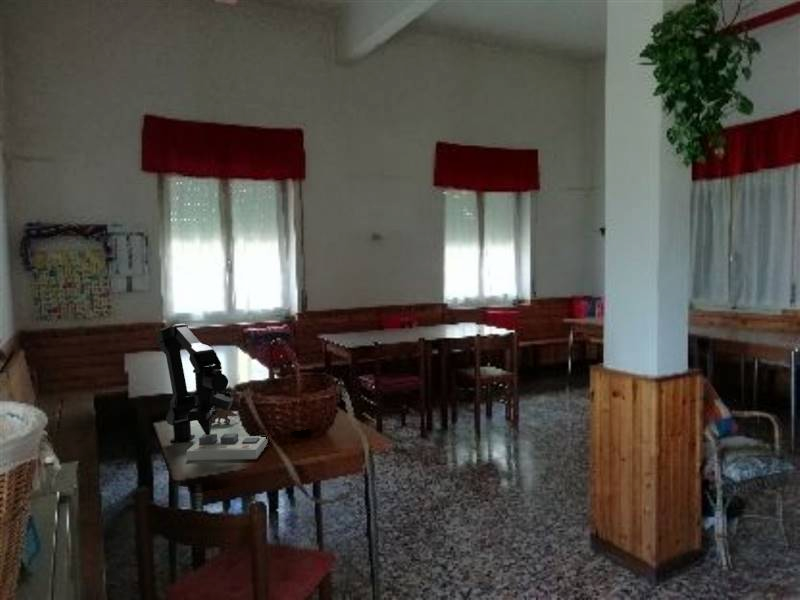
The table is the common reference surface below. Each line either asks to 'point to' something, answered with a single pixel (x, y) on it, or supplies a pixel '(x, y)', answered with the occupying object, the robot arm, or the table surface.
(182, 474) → the table surface
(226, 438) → the middle button
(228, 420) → the dinosaur figurine
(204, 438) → the button
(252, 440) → the button
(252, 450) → the button panel
